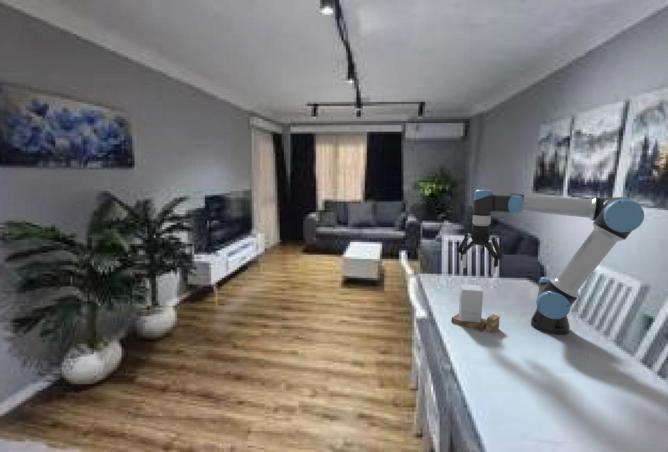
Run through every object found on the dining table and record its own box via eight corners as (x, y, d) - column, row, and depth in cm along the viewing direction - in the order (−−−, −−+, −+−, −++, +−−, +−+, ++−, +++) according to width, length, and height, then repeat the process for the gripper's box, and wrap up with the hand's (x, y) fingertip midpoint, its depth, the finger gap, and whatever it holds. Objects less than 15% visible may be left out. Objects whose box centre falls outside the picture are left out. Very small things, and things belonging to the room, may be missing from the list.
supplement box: (478, 315, 173) (480, 285, 171) (481, 323, 165) (483, 291, 162) (458, 313, 175) (460, 283, 173) (459, 321, 167) (462, 289, 164)
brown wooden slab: (489, 326, 168) (490, 320, 168) (480, 333, 161) (481, 326, 161) (460, 317, 178) (461, 312, 178) (451, 323, 171) (451, 317, 171)
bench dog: (498, 328, 164) (499, 316, 163) (492, 332, 160) (493, 319, 159) (491, 326, 166) (493, 314, 166) (486, 330, 162) (487, 317, 161)
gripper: (513, 226, 157) (509, 274, 160) (458, 220, 175) (456, 264, 178) (506, 228, 152) (503, 278, 155) (451, 222, 170) (448, 267, 173)
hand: (478, 270), depth 167 cm, fingers open, 13 cm apart
